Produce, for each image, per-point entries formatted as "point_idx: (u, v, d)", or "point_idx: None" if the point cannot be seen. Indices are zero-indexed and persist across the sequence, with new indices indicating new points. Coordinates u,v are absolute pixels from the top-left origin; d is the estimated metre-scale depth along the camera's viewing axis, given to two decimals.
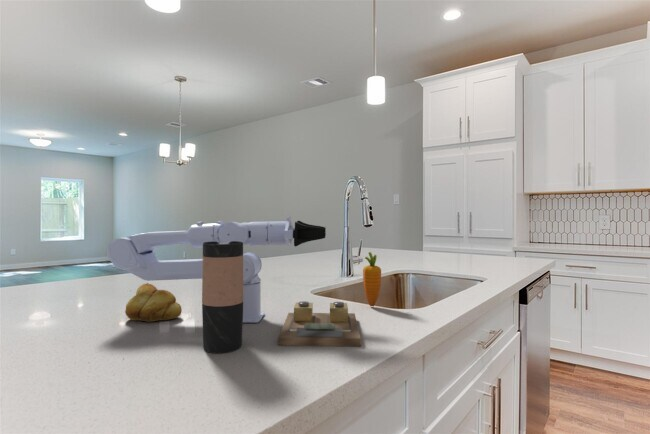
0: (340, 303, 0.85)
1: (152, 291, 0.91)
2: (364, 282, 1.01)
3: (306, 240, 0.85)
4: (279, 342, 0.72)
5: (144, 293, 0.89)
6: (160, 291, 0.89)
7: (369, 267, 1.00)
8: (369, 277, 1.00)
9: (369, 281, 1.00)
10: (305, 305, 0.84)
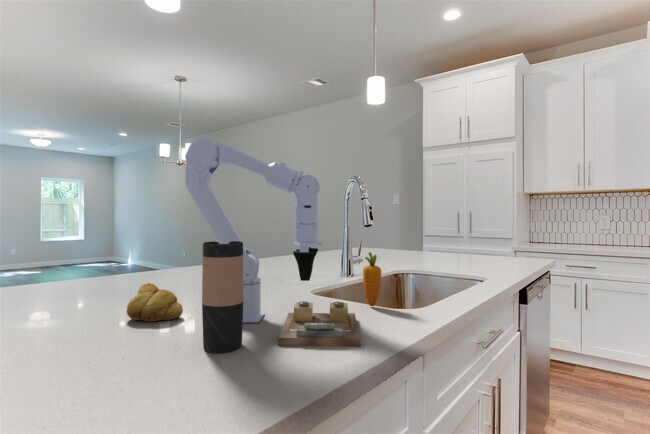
0: (340, 303, 0.85)
1: (154, 291, 0.91)
2: (364, 282, 1.01)
3: (298, 263, 0.89)
4: (279, 342, 0.72)
5: (145, 293, 0.89)
6: (161, 291, 0.89)
7: (369, 267, 1.00)
8: (369, 277, 1.00)
9: (369, 281, 1.00)
10: (305, 305, 0.84)
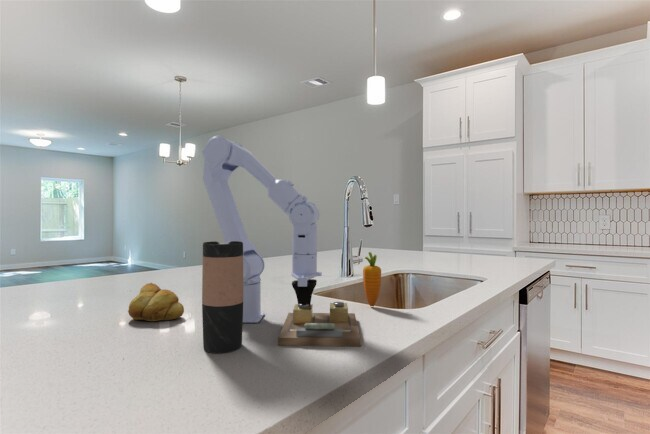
0: (340, 303, 0.85)
1: (155, 290, 0.91)
2: (364, 282, 1.01)
3: (297, 294, 0.86)
4: (279, 342, 0.72)
5: (147, 293, 0.89)
6: (163, 291, 0.89)
7: (369, 267, 1.00)
8: (369, 277, 1.00)
9: (369, 281, 1.00)
10: (305, 307, 0.82)
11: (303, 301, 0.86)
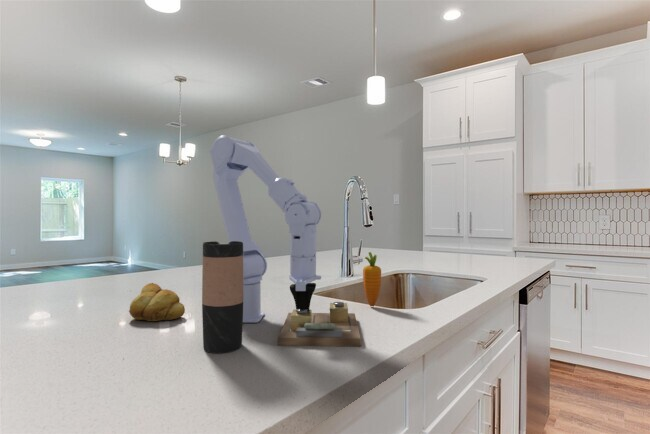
0: (340, 303, 0.85)
1: (156, 290, 0.91)
2: (364, 282, 1.01)
3: (295, 299, 0.81)
4: (279, 342, 0.72)
5: (148, 293, 0.89)
6: (163, 291, 0.90)
7: (369, 267, 1.00)
8: (369, 277, 1.00)
9: (369, 281, 1.00)
10: (303, 312, 0.78)
11: (301, 306, 0.82)
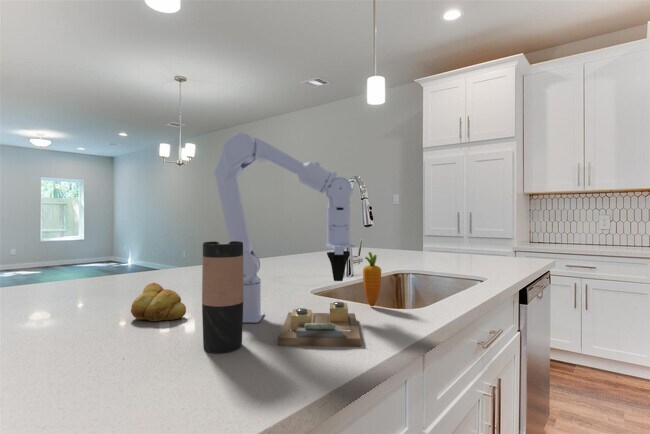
0: (340, 303, 0.85)
1: (158, 290, 0.92)
2: (364, 282, 1.01)
3: (332, 264, 0.91)
4: (279, 342, 0.72)
5: (149, 292, 0.89)
6: (165, 291, 0.90)
7: (369, 267, 1.00)
8: (369, 277, 1.00)
9: (369, 281, 1.00)
10: (303, 312, 0.78)
11: (337, 270, 0.92)
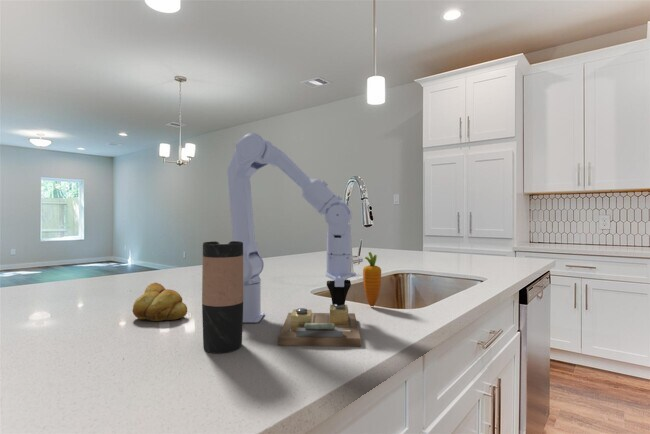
0: (340, 305, 0.83)
1: (159, 290, 0.92)
2: (364, 282, 1.01)
3: (332, 294, 0.86)
4: (279, 342, 0.72)
5: (151, 292, 0.89)
6: (166, 291, 0.90)
7: (369, 267, 1.00)
8: (369, 277, 1.00)
9: (369, 281, 1.00)
10: (303, 312, 0.78)
11: (337, 301, 0.86)
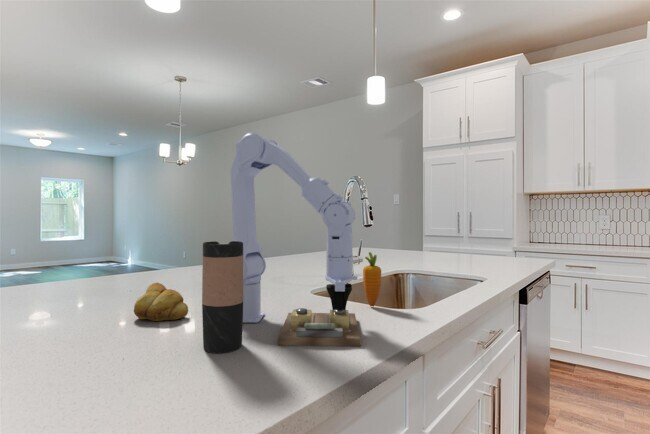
0: (341, 310, 0.78)
1: (161, 290, 0.92)
2: (364, 282, 1.01)
3: (332, 299, 0.81)
4: (279, 342, 0.72)
5: (152, 292, 0.89)
6: (167, 291, 0.90)
7: (369, 267, 1.00)
8: (369, 277, 1.00)
9: (369, 281, 1.00)
10: (303, 312, 0.78)
11: (338, 306, 0.82)
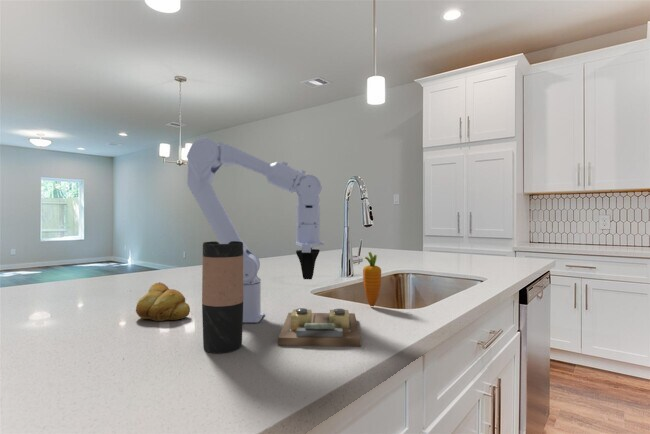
0: (341, 310, 0.78)
1: (163, 290, 0.92)
2: (364, 282, 1.01)
3: (301, 262, 0.90)
4: (279, 342, 0.72)
5: (154, 292, 0.89)
6: (169, 291, 0.90)
7: (369, 267, 1.00)
8: (369, 277, 1.00)
9: (369, 281, 1.00)
10: (303, 312, 0.78)
11: (307, 269, 0.91)
